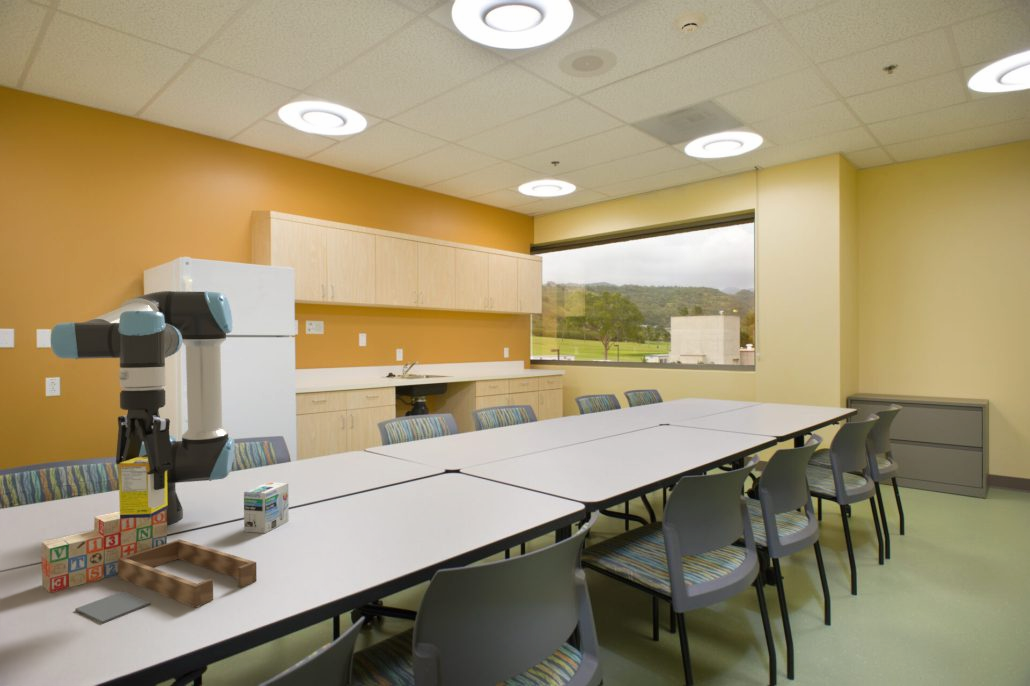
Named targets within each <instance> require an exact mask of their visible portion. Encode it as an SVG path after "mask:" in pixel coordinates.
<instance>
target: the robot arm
mask: <svg viewBox="0 0 1030 686" xmlns="http://www.w3.org/2000/svg"><path fill="white" fill-rule="evenodd" d="M232 331H233V316H232V310H231V307H230V304H229V300H228V298H227V296H225V294H223V293H221V292H214V291H180V290H179V291H170V290H164V291H163V290H162V291H155V292H150V293H147V294H143V295H140V296H136V297H133V298H131V299H128V300H126V301H124V302H123V303H121V305H120V306H119V308H117V309H114V310H111V311H109V312H106V313H104V314H102V315H99V316H97V317H94V318H92V319H89V320H86V321H83V322H75V321H71V322H60V323H57V324H56V325H54V326H53V328H52V330H51V333H50V348H51V351H52V352H53V354H54V355H55V356H56V358H57V357H58V358H59V359H71V360H72V359H74V360H81V359H82V360H83V359H119V367H120V368H119V373H118V374H117V375H118V377H119V386H120V388H121V389H123V390H121V391H120V392H119V407H120V409H121V410H124V411H127V412H126V415H119V416H117V426H118V431H117V442H116V443H117V444H116V454H115V455H116V456H115V463H116V465H119V464H120V463H121V462H124V461H127V460H130V459H133V458H136V457H147V458H148V462H149V466H150V470H151V471H149V472H147V474H148V507H149V508H151V507H155V506H159V505H163V504H165V471H167V499H168V500H167V501H168V508H167V509H166V522H167V526H169V525H172V524H174V523H178V522H179V521H181V520H182V519H183V518H184V509H183V506H182V503H181V502H180V499H179V496H178V494H177V491H176V484H179V483H190V482H192V483H193V482H204V481H205V482H206V481H209V482H212V481H215V480H223V479H225V478H228V476H229V475H230V473H231V470H232V466H233V461H234V456H235V447H236V444H235V439H234V438H233V437H229V432H228V430H227V429H226V428H224V427H223V412H222V411H223V410H222V408H223V407H222V406H223V404H222V400H223V399H222V364H221V363H222V362H221V345H222V344H223V343H224V342H225V341H226V340H227V334H229V333H232ZM183 344H184V345H185V362H186V363H185V364H186V365H185V366H186V369H185V370H186V373H185V374H186V400H187V401H186V403H187V404H186V405H187V407H186V409H187V430H186V431H185V432H184V433H183V434H182V436H181V440H180V441H179V440H176V437H175V436H174V435H170V425H171V421H170V418H161V416H160V411H159V409H160V408H164V407H165V406H166V390H165V389H164V388H163V387H164V386H166V363H165V362H166V358H168V357H172V355H173V356H174V355H175V354H176V353H177V352H179V351H180V349H181V348H182V346H183Z"/></svg>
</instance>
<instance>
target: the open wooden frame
mask: <svg viewBox="0 0 1030 686" xmlns="http://www.w3.org/2000/svg"><path fill="white" fill-rule="evenodd" d="M177 559H178V560H181V561H185V562H188V563H191V564H194V565H197V566H199V567H202V568H206V569H208V570H212V571H215V572H218V573H221V574H223V575H227V576H230V577H233V578H236V579H238V580H237V582H238V583H237V584H238V585H237V586H238V587H237V588H244V587H246V586H248V585H251V584H253V583H256V582H257V577H258V576H257V561H253V560H250V559H247V558H244V557H240V556H236V555H234V554H230V553H226V552H223V551H220V550H216V549H213V548H211V547H206V546H203V545H201V544H197V543H194V542H190V541H186V540H184V539H183V540H182V539H176V540H173V541H170V542H167V543H166V544H163V545H160V546H157V547H154V548H151V549H148V550H144V551H141V552H138V553H135V554H132V555H129V556H126V557H122V558H119V559H118V574H117V578H119V579H121V580H124V581H127V582H128V583H132V584H134V585H136V586H140V587H142V588H144V589H147V590H150V591H152V592H155V593H156V594H159V595H161V596H162V595H163V596H165V597H166V598H170V599H173V600H175V601H177V602H180V603H182V604H185V605H188V606H191V607H192V608H198V607H201V606H202V605H205V604H207V603H210V602H212V601H214V579H212V578H208V579H205V580H203V581H200V582H198V583H197V582H195V581H191V580H189V579H186V578H182V577H180V576H177V575H174V574H171V573H169V572H166V571H162V570H160V569H158V568H154V567H157V566H160V565H163V564H166V563H169V562H172V561H175V560H177Z"/></svg>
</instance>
